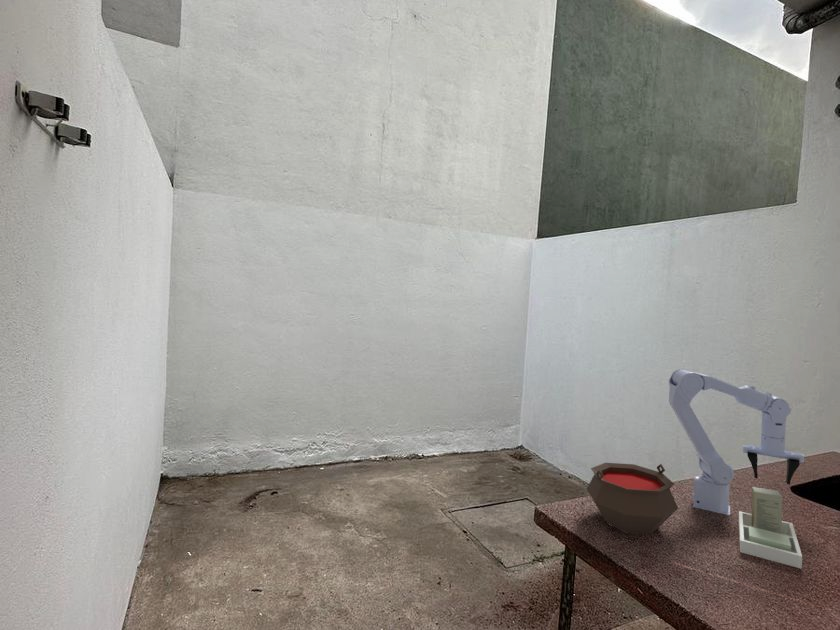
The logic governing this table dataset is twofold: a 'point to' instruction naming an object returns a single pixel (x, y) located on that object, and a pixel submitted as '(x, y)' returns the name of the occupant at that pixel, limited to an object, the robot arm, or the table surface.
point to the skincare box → (767, 509)
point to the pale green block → (769, 538)
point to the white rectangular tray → (769, 552)
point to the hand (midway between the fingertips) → (771, 480)
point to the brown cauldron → (632, 496)
